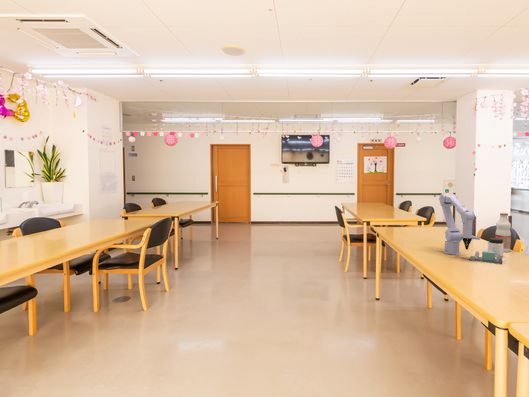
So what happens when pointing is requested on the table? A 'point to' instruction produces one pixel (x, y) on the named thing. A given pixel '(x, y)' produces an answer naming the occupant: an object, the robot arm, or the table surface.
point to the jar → (496, 246)
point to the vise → (497, 261)
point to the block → (488, 255)
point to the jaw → (476, 255)
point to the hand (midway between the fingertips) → (466, 249)
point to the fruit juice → (504, 231)
